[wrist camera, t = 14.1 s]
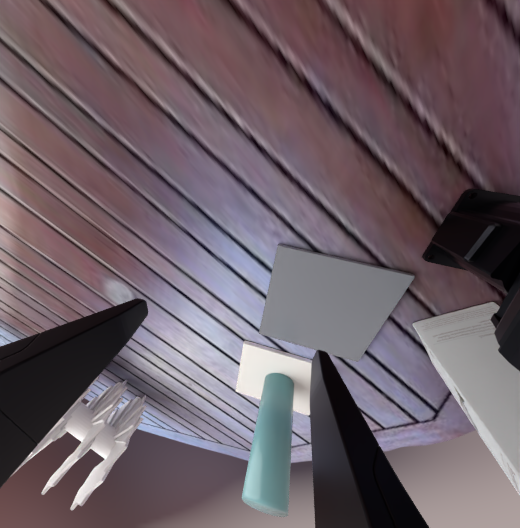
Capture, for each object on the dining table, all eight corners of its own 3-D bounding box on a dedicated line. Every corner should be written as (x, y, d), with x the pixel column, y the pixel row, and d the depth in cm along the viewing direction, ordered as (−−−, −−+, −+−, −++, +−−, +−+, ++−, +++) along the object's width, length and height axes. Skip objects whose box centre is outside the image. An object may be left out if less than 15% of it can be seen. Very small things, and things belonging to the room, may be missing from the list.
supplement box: (409, 321, 21) (522, 484, 10) (493, 299, 18) (787, 497, 7) (429, 362, 23) (542, 535, 12) (509, 348, 20) (757, 563, 9)
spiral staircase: (94, 324, 44) (168, 390, 48) (39, 370, 44) (118, 432, 48) (-9, 385, 26) (124, 482, 30) (-101, 462, 26) (45, 547, 30)
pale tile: (334, 366, 27) (335, 370, 26) (308, 411, 34) (308, 415, 33) (244, 340, 29) (243, 343, 28) (236, 388, 35) (235, 391, 35)
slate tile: (411, 273, 19) (415, 276, 18) (356, 358, 25) (357, 362, 25) (278, 243, 20) (277, 245, 20) (259, 330, 27) (258, 333, 26)
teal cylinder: (293, 375, 29) (287, 506, 18) (294, 393, 31) (288, 520, 20) (263, 370, 30) (238, 490, 19) (266, 389, 32) (245, 506, 21)
